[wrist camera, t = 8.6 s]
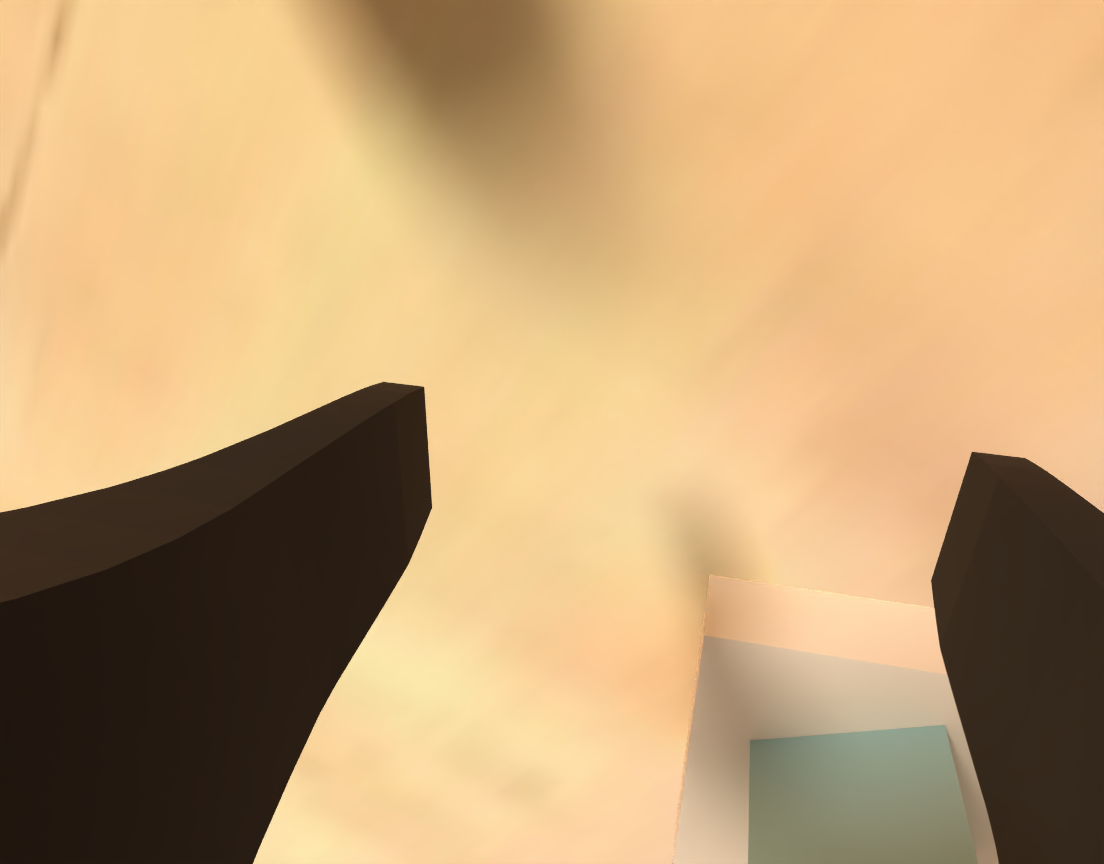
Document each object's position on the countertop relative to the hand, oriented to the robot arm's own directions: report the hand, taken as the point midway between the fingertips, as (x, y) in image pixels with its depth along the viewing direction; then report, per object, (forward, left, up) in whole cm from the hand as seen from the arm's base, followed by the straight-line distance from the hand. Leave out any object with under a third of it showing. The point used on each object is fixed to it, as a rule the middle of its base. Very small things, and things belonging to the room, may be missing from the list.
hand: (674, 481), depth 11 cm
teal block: (-6, +14, -7) cm, 17 cm away
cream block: (-6, +14, -10) cm, 18 cm away
